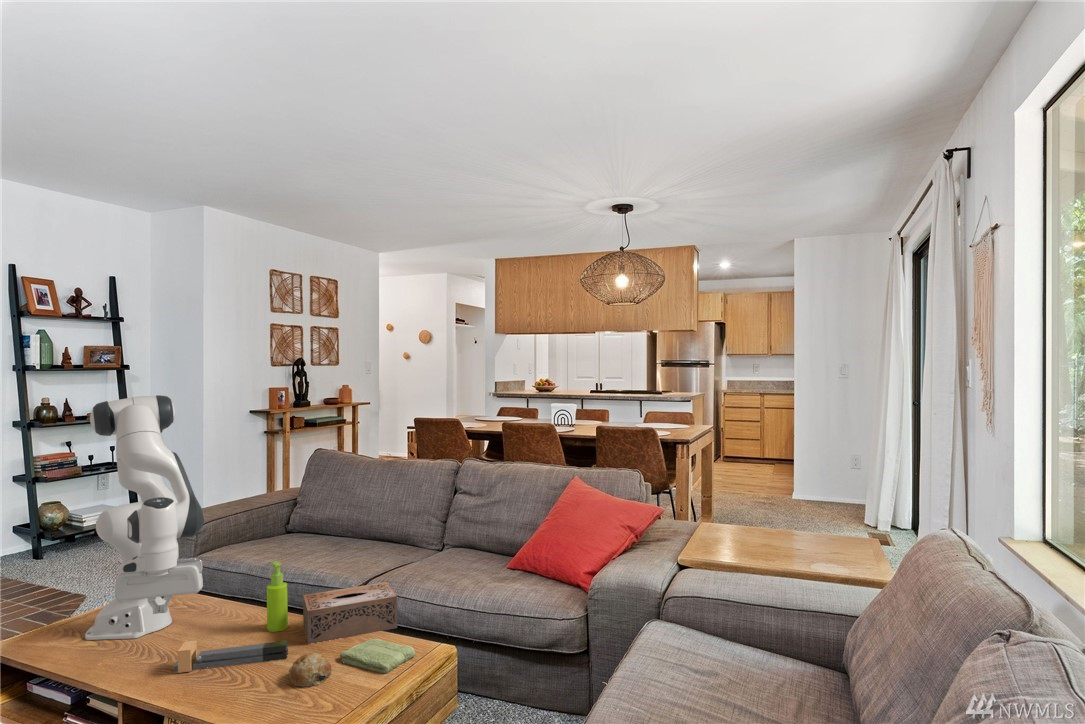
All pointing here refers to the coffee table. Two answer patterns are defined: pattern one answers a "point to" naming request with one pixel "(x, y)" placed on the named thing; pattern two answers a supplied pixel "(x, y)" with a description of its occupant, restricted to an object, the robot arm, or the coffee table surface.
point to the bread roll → (310, 670)
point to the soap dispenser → (277, 601)
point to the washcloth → (377, 655)
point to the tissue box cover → (349, 612)
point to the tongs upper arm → (242, 651)
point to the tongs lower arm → (236, 660)
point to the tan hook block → (186, 655)
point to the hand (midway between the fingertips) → (160, 612)
